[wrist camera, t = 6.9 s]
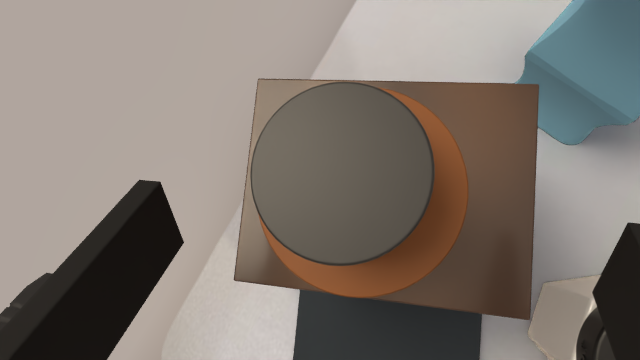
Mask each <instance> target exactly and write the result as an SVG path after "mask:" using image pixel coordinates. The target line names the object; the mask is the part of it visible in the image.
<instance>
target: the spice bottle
mask: <svg viewBox="0 0 640 360" xmlns="http://www.w3.org/2000/svg"><path fill="white" fill-rule="evenodd" d="M250 179H251V190H252V195H253V200H254V203H255V206H256V209H257V212H258V215H259V220H260V223H261V226H262V229H263V232H264V234H265V236H266V238H267V240H268V242H269V245H270V246H271V248H272V249H273V251H274V252H275V254H276V255H277V257H278V258H279V259H280V260H281V261H282V262H283V264H284V265H285V266H286V267H287V268H288V269H289V270H290V271H292V272H293V273H294V274H295V275H296V276H297V277H299V278H300V279H302V280H303V281H305V282H306V283H308V284H310V285H312V286H314V287H316V288H318V289H320V290H322V291H325V292H328V293H331V294H334V295H339V296H344V297H353V298H370V297H379V296H384V295H388V294H392V293H395V292H398V291H400V290H403V289H405V288H407V287H409V286H411V285H413V284H415V283H417V282H418V281H420V280H421V279H423V278H424V277H426V276H427V275H428V274H430V273H431V272H432V271H433V270H434V269H435V268H436V267H437V266H438V265H439V264H440V263H441V262H442V261H443V259H444V258H445V257H446V256H447V255H448V253H449V252H450V250H451V249H452V247H453V245H454V244H455V242H456V240H457V238H458V236H459V234H460V231H461V229H462V227H463V223H464V220H465V216H466V212H467V205H468V197H469V195H468V177H467V170H466V166H465V163H464V159H463V156H462V153H461V151H460V149H459V147H458V144H457V142H456V140H455V139H454V137H453V136H452V134H451V132H450V131H449V129H448V128H447V127H446V126H445V125H444V123H443V122H442V121H441V120H440V119H439V118H438V117H437V116H436V115H435V114H434V113H433V112H432V111H431V110H430V109H428V108H427V107H425V106H424V105H422V104H421V103H420V102H418V101H416V100H414V99H412V98H410V97H408V96H406V95H404V94H401V93H399V92H396V91H393V90H389V89H384V88H379V87H374V86H371V85H367V84H362V83H357V82H333V83H327V84H322V85H319V86H316V87H312V88H310V89H308V90H305V91H303V92H301V93H299V94H298V95H296V96H294V97H293V98H291V99H290V100H289V101H287V102H286V103H285V104H284V105H282V106H281V107H280V108H279V109H278V110H277V111H276V112H275V113H274V114H273V116H272V117H271V118H270V120H269V121H268V122H267V124H266V125H265V127H264V129H263V130H262V132H261V134H260V136H259V138H258V141H257V143H256V146H255V149H254V152H253V157H252V162H251V174H250Z"/></svg>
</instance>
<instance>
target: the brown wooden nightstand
mask: <svg viewBox="0 0 640 360" xmlns="http://www.w3.org/2000/svg"><path fill="white" fill-rule="evenodd" d="M333 82H357V83H362V84H367V85H371V86H374V87H379V88H384V89H389V90H393V91H396V92H399V93H401V94H404V95H406V96H408V97H410V98H412V99H414V100H416V101H418V102H420V103H421V104H422V105H424V106H425V107H427V108H428V109H430V110H431V111H432V112H433V113H434V114H435V115H436V116H437V117H438V118H439V119H440V120H441V121H442V122H443V123H444V125H445V126H446V127H447V128H448V129H449V131H450V132H451V134H452V136H453V137H454V139H455V140H456V142H457V144H458V147H459V149H460V151H461V153H462V156H463V159H464V163H465V166H466V170H467V177H468V195H469V197H468V205H467V212H466V216H465V220H464V223H463V227H462V229H461V231H460V234H459V236H458V238H457V240H456V242H455V244H454V245H453V247H452V249H451V250H450V252H449V253H448V255H447V256H446V257H445V258H444V259H443V261H442V262H441V263H440V264H439V265H438V266H437V267H436V268H435V269H434V270H433V271H432V272H431V273H430V274H428V275H427V276H426V277H424V278H423V279H421V280H420V281H418V282H417V283H415V284H413V285H411V286H409V287H407V288H405V289H403V290H400V291H398V292H395V293H392V294H388V295H384V296H379V297H370V298H368V299H375V300H382V301H390V302H397V303H405V304H412V305H420V306H427V307H435V308H442V309H450V310H457V311H464V312H472V313H479V314H487V315H494V316H502V317H509V318H517V319H524V320H530V311H531V285H532V259H533V233H534V207H535V181H536V155H537V129H538V103H539V84H508V83H457V82H405V81H354V80H301V79H258V83H257V92H256V100H255V109H254V117H253V126H252V133H251V141H250V150H249V158H248V167H247V175H246V183H245V192H244V200H243V208H242V216H241V225H240V233H239V241H238V250H237V258H236V266H235V275H234V280H235V281H241V282H248V283H256V284H263V285H271V286H278V287H285V288H293V289H300V290H308V291H315V292H323V293H328V292H325V291H322V290H320V289H318V288H316V287H314V286H312V285H310V284H308V283H306V282H305V281H303V280H302V279H300V278H299V277H297V276H296V275H295V274H294V273H293V272H292V271H290V270H289V269H288V268H287V267H286V266H285V265H284V264H283V262H282V261H281V260H280V259H279V258H278V257H277V255H276V254H275V252H274V251H273V249H272V248H271V246H270V245H269V242H268V240H267V238H266V236H265V234H264V232H263V229H262V226H261V223H260V220H259V215H258V212H257V209H256V206H255V203H254V200H253V195H252V190H251V179H250V174H251V162H252V157H253V152H254V149H255V146H256V143H257V141H258V138H259V136H260V134H261V132H262V130H263V129H264V127H265V125H266V124H267V122H268V121H269V120H270V118H271V117H272V116H273V114H274V113H275V112H276V111H277V110H278V109H279V108H280V107H281V106H282V105H284V104H285V103H286V102H287V101H289V100H290V99H291V98H293V97H294V96H296V95H298V94H299V93H301V92H303V91H305V90H308V89H310V88H312V87H316V86H319V85H322V84H327V83H333ZM330 294H331V293H330Z"/></svg>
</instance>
